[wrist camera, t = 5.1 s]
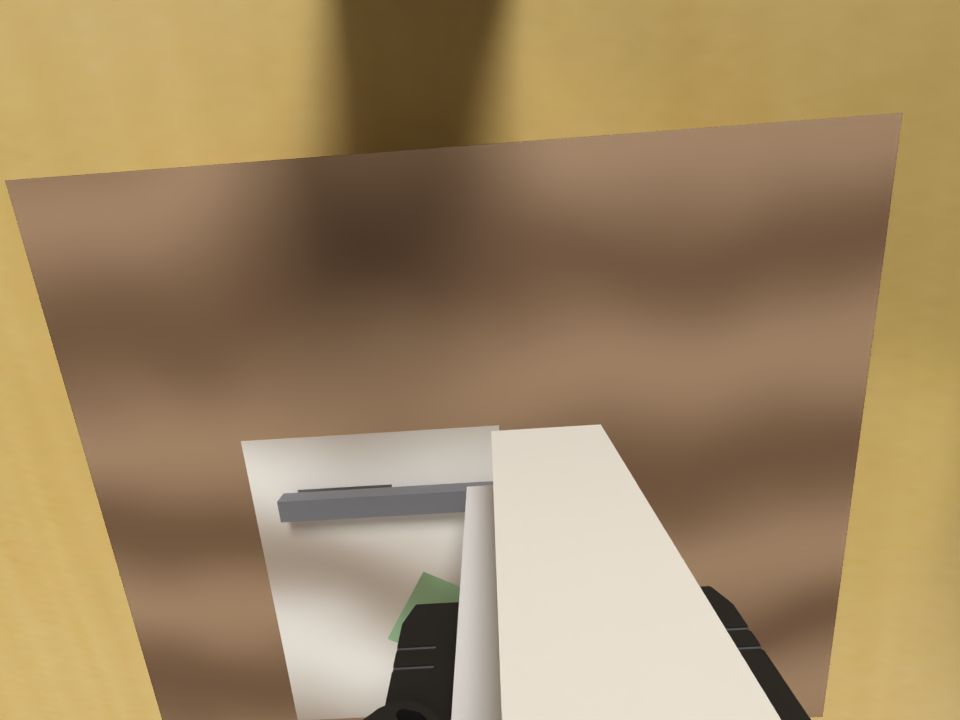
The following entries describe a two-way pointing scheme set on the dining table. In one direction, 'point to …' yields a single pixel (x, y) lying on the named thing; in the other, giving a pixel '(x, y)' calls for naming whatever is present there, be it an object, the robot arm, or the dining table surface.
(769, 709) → the white box with rod
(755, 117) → the dining table surface
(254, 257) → the wooden box with sign
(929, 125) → the dining table surface
